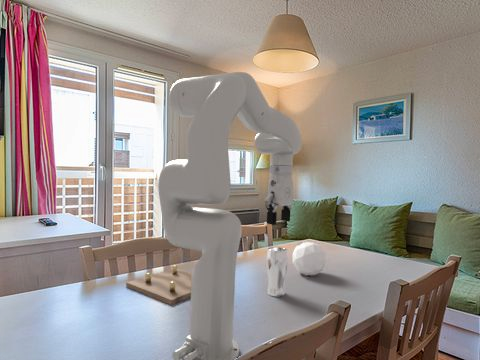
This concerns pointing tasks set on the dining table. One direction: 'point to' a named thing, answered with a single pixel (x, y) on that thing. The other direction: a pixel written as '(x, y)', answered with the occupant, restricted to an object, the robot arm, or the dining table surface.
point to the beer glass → (276, 270)
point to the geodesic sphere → (308, 258)
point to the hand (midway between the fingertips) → (278, 222)
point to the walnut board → (164, 285)
